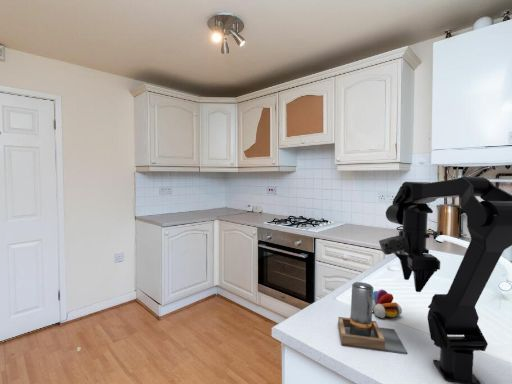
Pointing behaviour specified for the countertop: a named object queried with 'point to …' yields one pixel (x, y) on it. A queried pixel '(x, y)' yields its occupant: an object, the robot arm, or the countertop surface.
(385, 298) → the multicolored petal flower
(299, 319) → the countertop surface
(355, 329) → the grey metal cylinder
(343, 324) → the picture frame
